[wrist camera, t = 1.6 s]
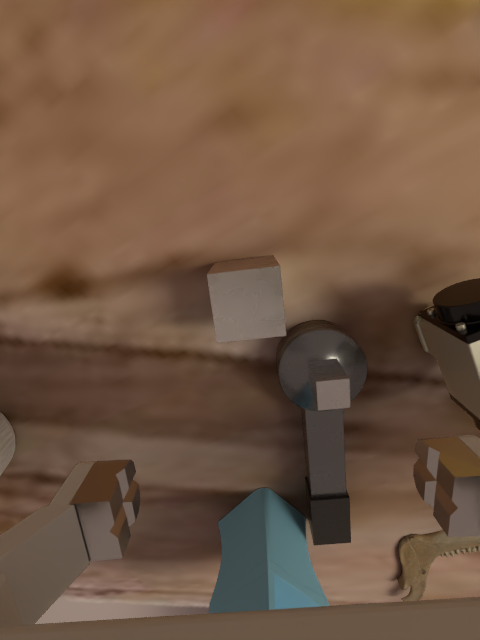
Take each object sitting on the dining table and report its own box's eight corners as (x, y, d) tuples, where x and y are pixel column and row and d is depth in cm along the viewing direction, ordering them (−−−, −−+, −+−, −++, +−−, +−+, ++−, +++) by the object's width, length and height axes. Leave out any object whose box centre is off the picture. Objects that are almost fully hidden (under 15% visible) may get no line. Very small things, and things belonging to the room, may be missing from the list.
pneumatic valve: (428, 386, 35) (516, 468, 23) (390, 285, 32) (470, 322, 21) (482, 364, 34) (600, 438, 23) (448, 259, 31) (565, 283, 20)
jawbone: (370, 540, 42) (376, 555, 40) (535, 478, 39) (550, 490, 37) (398, 594, 44) (405, 611, 42) (559, 537, 41) (574, 552, 39)
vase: (311, 520, 40) (368, 794, 21) (265, 556, 42) (280, 839, 23) (263, 483, 39) (277, 740, 20) (217, 522, 41) (191, 792, 22)
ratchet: (354, 315, 33) (384, 342, 26) (359, 514, 40) (384, 579, 33) (272, 324, 33) (279, 353, 26) (291, 519, 40) (301, 585, 33)
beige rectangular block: (273, 255, 31) (280, 265, 25) (278, 311, 33) (286, 335, 26) (215, 262, 32) (206, 274, 25) (223, 317, 33) (216, 343, 26)
